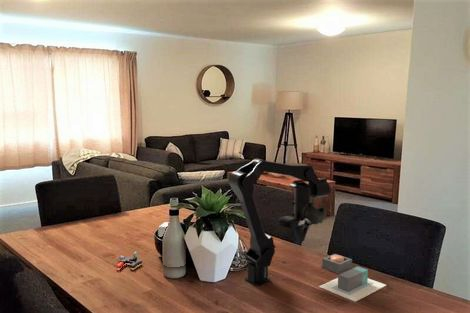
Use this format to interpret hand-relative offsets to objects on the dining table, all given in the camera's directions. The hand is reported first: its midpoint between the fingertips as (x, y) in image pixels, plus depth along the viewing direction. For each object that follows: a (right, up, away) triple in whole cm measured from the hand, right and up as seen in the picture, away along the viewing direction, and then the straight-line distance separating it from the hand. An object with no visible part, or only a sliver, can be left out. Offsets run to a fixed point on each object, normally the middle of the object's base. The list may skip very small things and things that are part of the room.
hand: (301, 241), depth 156 cm
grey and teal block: (+15, -12, -12) cm, 23 cm away
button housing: (+14, -11, +4) cm, 18 cm away
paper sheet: (+15, -13, -12) cm, 23 cm away
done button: (+14, -10, +4) cm, 17 cm away
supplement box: (-50, -9, +17) cm, 53 cm away
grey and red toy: (-65, -11, +5) cm, 66 cm away
